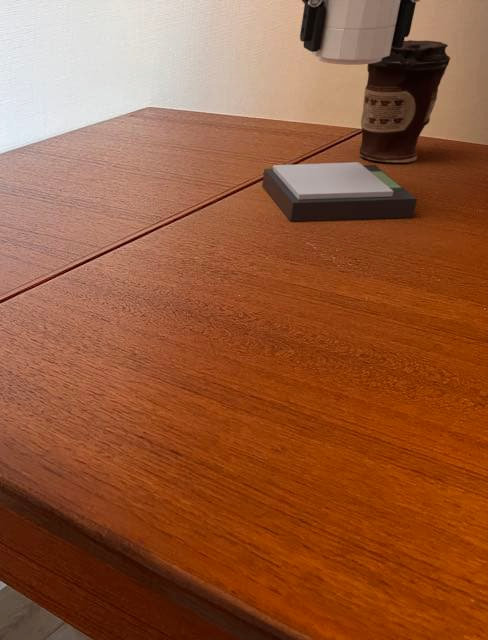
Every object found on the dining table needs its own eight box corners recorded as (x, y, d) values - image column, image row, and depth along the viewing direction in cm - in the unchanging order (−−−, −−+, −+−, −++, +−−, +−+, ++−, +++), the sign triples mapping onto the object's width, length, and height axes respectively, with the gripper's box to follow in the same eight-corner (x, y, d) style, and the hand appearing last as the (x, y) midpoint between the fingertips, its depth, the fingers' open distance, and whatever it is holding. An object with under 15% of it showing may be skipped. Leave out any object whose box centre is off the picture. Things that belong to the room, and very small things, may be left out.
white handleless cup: (373, 51, 87) (386, -14, 84) (399, 64, 81) (414, -6, 78) (302, 54, 88) (312, -10, 85) (323, 67, 82) (335, -2, 79)
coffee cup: (399, 171, 99) (425, 52, 92) (334, 158, 105) (354, 45, 98) (439, 156, 103) (467, 40, 97) (374, 144, 109) (396, 34, 103)
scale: (371, 182, 97) (376, 159, 95) (412, 217, 86) (418, 192, 85) (261, 186, 98) (265, 163, 96) (290, 221, 88) (294, 196, 86)
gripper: (300, -165, 72) (270, 58, 82) (516, -179, 71) (461, 50, 80) (277, -162, 79) (251, 45, 88) (475, -175, 77) (428, 37, 87)
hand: (352, 46), depth 84 cm, fingers closed on white handleless cup, 7 cm apart
